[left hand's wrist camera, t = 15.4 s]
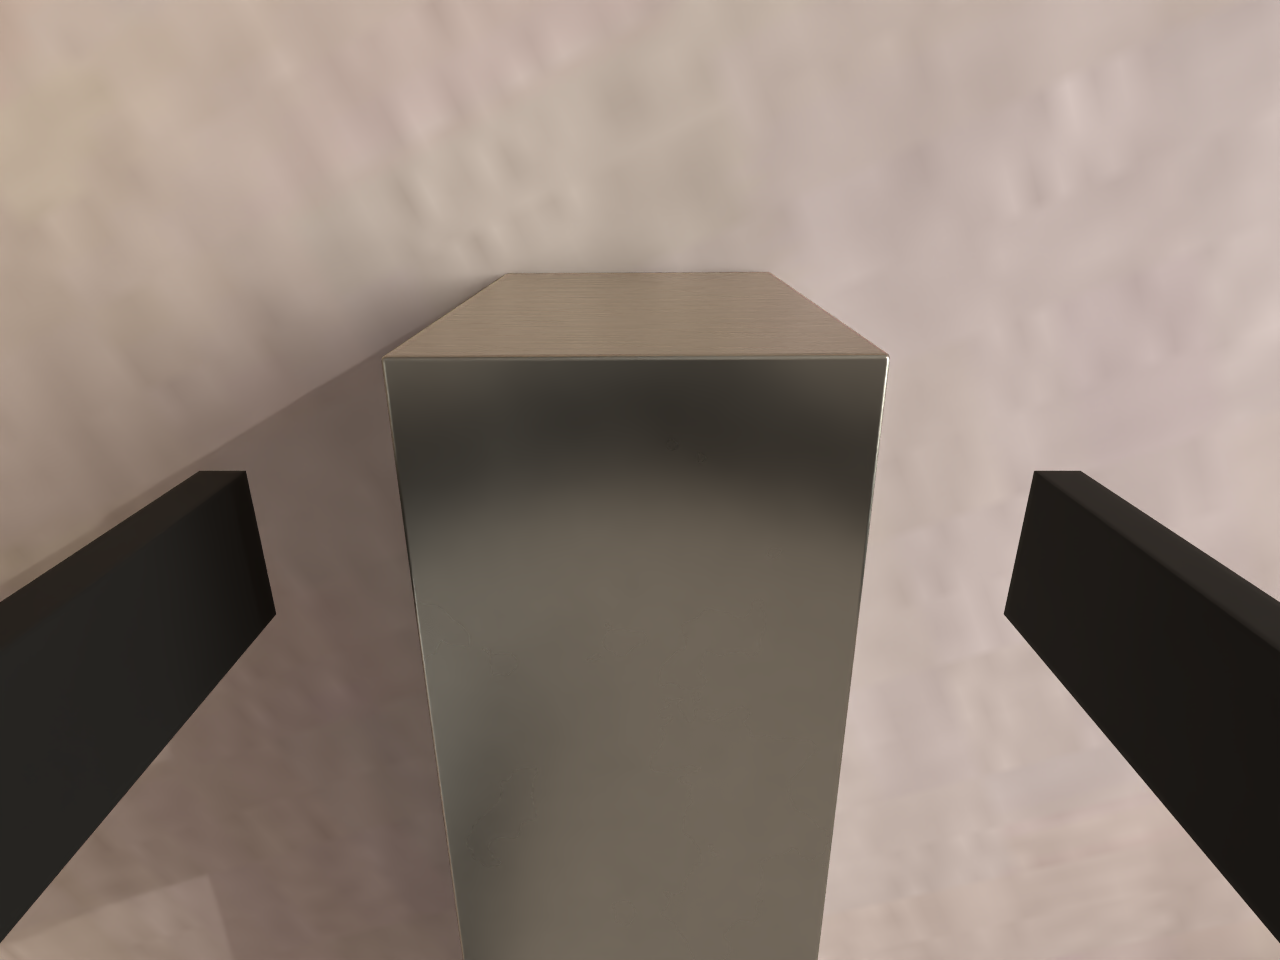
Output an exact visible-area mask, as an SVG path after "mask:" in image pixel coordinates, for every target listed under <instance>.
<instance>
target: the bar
mask: <svg viewBox="0 0 1280 960" xmlns="http://www.w3.org/2000/svg"><path fill="white" fill-rule="evenodd" d="M889 361H890V357H889V354H887V353H886V352H884V351H883V350H881V349H880V348H879V347H877V346H876V345H874V344H873V343H871V342H870V341H868V340H867V339H866V338H864V337H863V336H861V335H860V334H858V333H857V332H855V331H854V330H852V329H851V328H850V327H848V326H847V325H845V324H844V323H842V322H841V321H839V320H838V319H837V318H835V317H834V316H832V315H831V314H829V313H828V312H826V311H825V310H824V309H822V308H821V307H819V306H818V305H816V304H815V303H813V302H812V301H811V300H809V299H808V298H806V297H805V296H803V295H802V294H800V293H799V292H797V291H796V290H795V289H793V288H792V287H790V286H789V285H787V284H786V283H784V282H783V281H782V280H780V279H779V278H777V277H776V276H774V275H773V274H771V273H770V272H695V273H515V274H506V275H504V276H503V277H501V278H500V279H498V280H497V281H495V282H494V283H492V284H491V285H489V286H488V287H486V288H485V289H483V290H482V291H480V292H479V293H477V294H476V295H474V296H473V297H471V298H470V299H468V300H467V301H465V302H464V303H462V304H461V305H459V306H458V307H456V308H455V309H453V310H452V311H450V312H449V313H447V314H446V315H444V316H443V317H441V318H440V319H438V320H437V321H436V322H434V323H433V324H431V325H430V326H428V327H427V328H425V329H424V330H422V331H421V332H419V333H418V334H416V335H415V336H413V337H412V338H410V339H409V340H407V341H406V342H404V343H403V344H401V345H400V346H398V347H397V348H395V349H394V350H392V351H391V352H389V353H388V354H386V355H385V356H383V357H382V361H381V362H382V369H383V376H384V384H385V391H386V398H387V406H388V413H389V420H390V428H391V435H392V442H393V450H394V457H395V465H396V472H397V479H398V487H399V494H400V501H401V509H402V516H403V523H404V531H405V538H406V545H407V553H408V560H409V568H410V575H411V582H412V590H413V597H414V604H415V612H416V619H417V626H418V634H419V641H420V648H421V656H422V663H423V671H424V678H425V685H426V693H427V700H428V707H429V715H430V722H431V729H432V737H433V744H434V751H435V759H436V766H437V774H438V781H439V788H440V796H441V803H442V810H443V818H444V825H445V832H446V840H447V847H448V854H449V862H450V869H451V877H452V884H453V891H454V899H455V906H456V913H457V921H458V928H459V935H460V943H461V950H462V957H463V960H818V952H819V943H820V935H821V927H822V918H823V910H824V902H825V893H826V885H827V877H828V868H829V860H830V852H831V843H832V835H833V827H834V818H835V810H836V802H837V793H838V785H839V777H840V768H841V760H842V752H843V743H844V735H845V727H846V719H847V710H848V702H849V694H850V685H851V677H852V669H853V660H854V652H855V644H856V635H857V627H858V619H859V610H860V602H861V594H862V585H863V577H864V569H865V560H866V552H867V544H868V535H869V527H870V519H871V510H872V502H873V494H874V485H875V477H876V469H877V460H878V452H879V444H880V436H881V427H882V419H883V411H884V402H885V394H886V386H887V377H888V369H889Z"/></svg>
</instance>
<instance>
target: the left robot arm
mask: <svg viewBox="0 0 1280 960" xmlns="http://www.w3.org/2000/svg"><path fill="white" fill-rule="evenodd" d="M275 615H276V611H275V606H274V601H273V597H272V592H271V587H270V583H269V578H268V573H267V569H266V564H265V559H264V554H263V550H262V545H261V540H260V536H259V531H258V526H257V521H256V517H255V512H254V507H253V503H252V498H251V493H250V489H249V484H248V479H247V474H246V471H199V472H197V473H196V474H194V475H193V476H191V477H190V478H188V479H186V480H185V481H183V482H182V483H180V484H179V485H177V486H176V487H174V488H173V489H171V490H170V491H168V492H167V493H165V494H164V495H162V496H161V497H159V498H158V499H156V500H155V501H153V502H152V503H150V504H149V505H147V506H146V507H144V508H142V509H141V510H139V511H138V512H136V513H135V514H133V515H132V516H130V517H129V518H127V519H126V520H124V521H123V522H121V523H120V524H118V525H117V526H115V527H114V528H112V529H111V530H109V531H108V532H106V533H105V534H103V535H102V536H100V537H99V538H97V539H95V540H94V541H92V542H91V543H89V544H88V545H86V546H85V547H83V548H82V549H80V550H79V551H77V552H76V553H74V554H73V555H71V556H70V557H68V558H67V559H65V560H64V561H62V562H61V563H59V564H58V565H56V566H55V567H53V568H52V569H50V570H48V571H47V572H45V573H44V574H42V575H41V576H39V577H38V578H36V579H35V580H33V581H32V582H30V583H29V584H27V585H26V586H24V587H23V588H21V589H20V590H18V591H17V592H15V593H14V594H12V595H11V596H9V597H8V598H6V599H4V600H3V601H1V602H0V943H1V942H2V940H3V939H4V938H5V937H6V936H7V934H8V933H9V932H10V931H11V930H12V928H13V927H14V926H15V925H16V924H17V922H18V921H19V920H20V919H21V918H22V916H23V915H24V914H25V913H26V912H27V911H28V909H29V908H30V907H31V906H32V905H33V903H34V902H35V901H36V900H37V899H38V897H39V896H40V895H41V894H42V893H43V891H44V890H45V889H46V888H47V887H48V885H49V884H50V883H51V882H52V881H53V880H54V878H55V877H56V876H57V875H58V874H59V872H60V871H61V870H62V869H63V868H64V866H65V865H66V864H67V863H68V862H69V860H70V859H71V858H72V857H73V856H74V854H75V853H76V852H77V851H78V850H79V849H80V847H81V846H82V845H83V844H84V843H85V841H86V840H87V839H88V838H89V837H90V835H91V834H92V833H93V832H94V831H95V829H96V828H97V827H98V826H99V825H100V824H101V822H102V821H103V820H104V819H105V818H106V816H107V815H108V814H109V813H110V812H111V810H112V809H113V808H114V807H115V806H116V804H117V803H118V802H119V801H120V800H121V798H122V797H123V796H124V795H125V794H126V793H127V791H128V790H129V789H130V788H131V787H132V785H133V784H134V783H135V782H136V781H137V779H138V778H139V777H140V776H141V775H142V773H143V772H144V771H145V770H146V769H147V767H148V766H149V765H150V764H151V763H152V762H153V760H154V759H155V758H156V757H157V756H158V754H159V753H160V752H161V751H162V750H163V748H164V747H165V746H166V745H167V744H168V742H169V741H170V740H171V739H172V738H173V736H174V735H175V734H176V733H177V732H178V731H179V729H180V728H181V727H182V726H183V725H184V723H185V722H186V721H187V720H188V719H189V717H190V716H191V715H192V714H193V713H194V711H195V710H196V709H197V708H198V707H199V705H200V704H201V703H202V702H203V701H204V700H205V698H206V697H207V696H208V695H209V694H210V692H211V691H212V690H213V689H214V688H215V686H216V685H217V684H218V683H219V682H220V680H221V679H222V678H223V677H224V676H225V675H226V673H227V672H228V671H229V670H230V669H231V667H232V666H233V665H234V664H235V663H236V661H237V660H238V659H239V658H240V657H241V655H242V654H243V653H244V652H245V651H246V649H247V648H248V647H249V646H250V645H251V644H252V642H253V641H254V640H255V639H256V638H257V636H258V635H259V634H260V633H261V632H262V630H263V629H264V628H265V627H266V626H267V624H268V623H269V622H270V621H271V620H272V618H273V617H274V616H275ZM1004 615H1005V616H1006V617H1007V618H1008V620H1009V621H1010V622H1011V623H1012V624H1013V626H1014V627H1015V628H1016V629H1017V630H1018V632H1019V633H1020V634H1021V635H1022V636H1023V638H1024V639H1025V640H1026V641H1027V642H1028V644H1029V645H1030V646H1031V647H1032V648H1033V649H1034V651H1035V652H1036V653H1037V654H1038V655H1039V657H1040V658H1041V659H1042V660H1043V661H1044V663H1045V664H1046V665H1047V666H1048V667H1049V669H1050V670H1051V671H1052V672H1053V673H1054V675H1055V676H1056V677H1057V678H1058V679H1059V680H1060V682H1061V683H1062V684H1063V685H1064V686H1065V688H1066V689H1067V690H1068V691H1069V692H1070V694H1071V695H1072V696H1073V697H1074V698H1075V700H1076V701H1077V702H1078V703H1079V704H1080V705H1081V707H1082V708H1083V709H1084V710H1085V711H1086V713H1087V714H1088V715H1089V716H1090V717H1091V719H1092V720H1093V721H1094V722H1095V723H1096V725H1097V726H1098V727H1099V728H1100V729H1101V731H1102V732H1103V733H1104V734H1105V735H1106V736H1107V738H1108V739H1109V740H1110V741H1111V742H1112V744H1113V745H1114V746H1115V747H1116V748H1117V750H1118V751H1119V752H1120V753H1121V754H1122V756H1123V757H1124V758H1125V759H1126V760H1127V762H1128V763H1129V764H1130V765H1131V766H1132V767H1133V769H1134V770H1135V771H1136V772H1137V773H1138V775H1139V776H1140V777H1141V778H1142V779H1143V781H1144V782H1145V783H1146V784H1147V785H1148V787H1149V788H1150V789H1151V790H1152V791H1153V793H1154V794H1155V795H1156V796H1157V797H1158V798H1159V800H1160V801H1161V802H1162V803H1163V804H1164V806H1165V807H1166V808H1167V809H1168V810H1169V812H1170V813H1171V814H1172V815H1173V816H1174V818H1175V819H1176V820H1177V821H1178V822H1179V823H1180V825H1181V826H1182V827H1183V828H1184V829H1185V831H1186V832H1187V833H1188V834H1189V835H1190V837H1191V838H1192V839H1193V840H1194V841H1195V843H1196V844H1197V845H1198V846H1199V847H1200V849H1201V850H1202V851H1203V852H1204V853H1205V854H1206V856H1207V857H1208V858H1209V859H1210V860H1211V862H1212V863H1213V864H1214V865H1215V866H1216V868H1217V869H1218V870H1219V871H1220V872H1221V874H1222V875H1223V876H1224V877H1225V878H1226V880H1227V881H1228V882H1229V883H1230V884H1231V885H1232V887H1233V888H1234V889H1235V890H1236V891H1237V893H1238V894H1239V895H1240V896H1241V897H1242V899H1243V900H1244V901H1245V902H1246V903H1247V905H1248V906H1249V907H1250V908H1251V909H1252V911H1253V912H1254V913H1255V914H1256V915H1257V916H1258V918H1259V919H1260V920H1261V921H1262V922H1263V924H1264V925H1265V926H1266V927H1267V928H1268V930H1269V931H1270V932H1271V933H1272V934H1273V936H1274V937H1275V938H1276V939H1277V940H1278V941H1279V943H1280V602H1279V601H1277V600H1276V599H1274V598H1272V597H1271V596H1269V595H1268V594H1266V593H1265V592H1263V591H1262V590H1260V589H1259V588H1257V587H1256V586H1254V585H1253V584H1251V583H1250V582H1248V581H1247V580H1245V579H1244V578H1242V577H1241V576H1239V575H1238V574H1236V573H1235V572H1233V571H1232V570H1230V569H1229V568H1227V567H1225V566H1224V565H1222V564H1221V563H1219V562H1218V561H1216V560H1215V559H1213V558H1212V557H1210V556H1209V555H1207V554H1206V553H1204V552H1203V551H1201V550H1200V549H1198V548H1197V547H1195V546H1194V545H1192V544H1191V543H1189V542H1188V541H1186V540H1185V539H1183V538H1181V537H1180V536H1178V535H1177V534H1175V533H1174V532H1172V531H1171V530H1169V529H1168V528H1166V527H1165V526H1163V525H1162V524H1160V523H1159V522H1157V521H1156V520H1154V519H1153V518H1151V517H1150V516H1148V515H1147V514H1145V513H1144V512H1142V511H1141V510H1139V509H1138V508H1136V507H1134V506H1133V505H1131V504H1130V503H1128V502H1127V501H1125V500H1124V499H1122V498H1121V497H1119V496H1118V495H1116V494H1115V493H1113V492H1112V491H1110V490H1109V489H1107V488H1106V487H1104V486H1103V485H1101V484H1100V483H1098V482H1097V481H1095V480H1094V479H1092V478H1090V477H1089V476H1087V475H1086V474H1084V473H1083V472H1081V471H1034V474H1033V479H1032V484H1031V489H1030V493H1029V498H1028V503H1027V507H1026V512H1025V517H1024V522H1023V526H1022V531H1021V536H1020V540H1019V545H1018V550H1017V554H1016V559H1015V564H1014V569H1013V573H1012V578H1011V583H1010V587H1009V592H1008V597H1007V602H1006V606H1005V611H1004Z"/></svg>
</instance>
